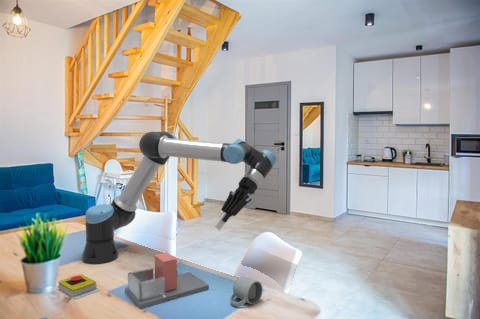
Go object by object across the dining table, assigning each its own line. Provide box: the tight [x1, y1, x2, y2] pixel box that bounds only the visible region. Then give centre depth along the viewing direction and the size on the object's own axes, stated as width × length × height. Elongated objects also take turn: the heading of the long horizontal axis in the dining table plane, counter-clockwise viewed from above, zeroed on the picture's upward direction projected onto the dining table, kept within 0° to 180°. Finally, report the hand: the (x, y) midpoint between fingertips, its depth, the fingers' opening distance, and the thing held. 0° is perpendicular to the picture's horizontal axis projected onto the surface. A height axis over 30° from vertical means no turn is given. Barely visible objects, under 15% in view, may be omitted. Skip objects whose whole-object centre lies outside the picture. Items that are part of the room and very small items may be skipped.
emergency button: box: [57, 273, 100, 300], centre depth 130 cm, size 9×4×15 cm
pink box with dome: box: [154, 252, 179, 292], centre depth 130 cm, size 8×6×11 cm
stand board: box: [124, 271, 210, 310], centre depth 130 cm, size 15×26×2 cm, turn 126°
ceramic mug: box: [229, 276, 263, 308], centre depth 122 cm, size 11×8×8 cm
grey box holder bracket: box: [127, 267, 165, 302], centre depth 125 cm, size 11×9×6 cm
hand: (216, 227), depth 140 cm, fingers closed
